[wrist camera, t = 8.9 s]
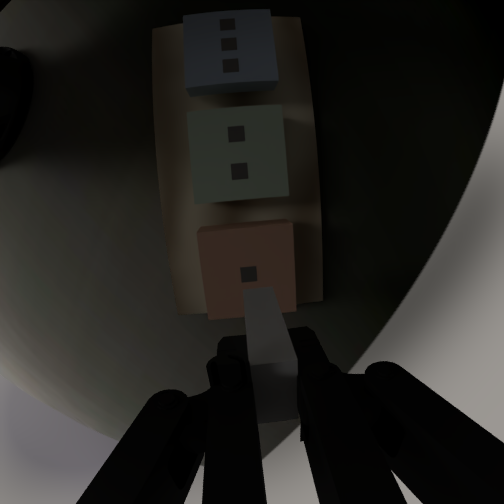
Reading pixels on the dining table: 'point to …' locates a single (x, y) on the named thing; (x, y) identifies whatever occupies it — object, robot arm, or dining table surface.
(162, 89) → the board
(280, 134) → the tile
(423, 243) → the dining table surface
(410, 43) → the dining table surface
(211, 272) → the tile
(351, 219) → the dining table surface
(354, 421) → the robot arm
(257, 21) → the tile
